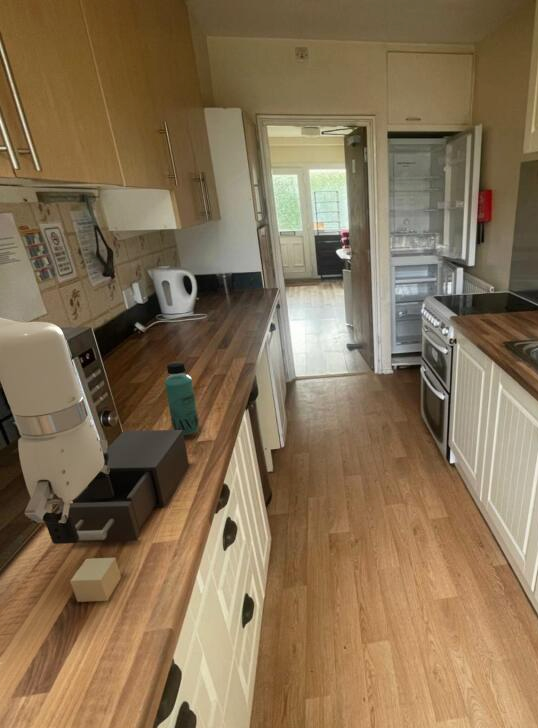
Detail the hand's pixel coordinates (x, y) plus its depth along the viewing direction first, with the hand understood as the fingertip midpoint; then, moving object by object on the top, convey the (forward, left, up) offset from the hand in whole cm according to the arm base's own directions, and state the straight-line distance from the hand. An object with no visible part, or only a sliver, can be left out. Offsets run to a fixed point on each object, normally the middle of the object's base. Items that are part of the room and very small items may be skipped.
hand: (86, 518), depth 64 cm
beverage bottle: (-4, +48, -14) cm, 50 cm away
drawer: (-5, +13, -13) cm, 19 cm away
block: (-1, -1, -13) cm, 13 cm away
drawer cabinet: (-5, +26, -13) cm, 30 cm away
